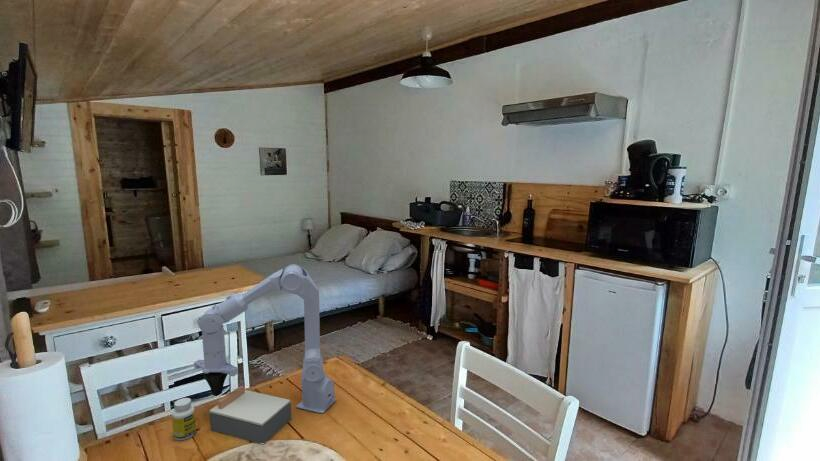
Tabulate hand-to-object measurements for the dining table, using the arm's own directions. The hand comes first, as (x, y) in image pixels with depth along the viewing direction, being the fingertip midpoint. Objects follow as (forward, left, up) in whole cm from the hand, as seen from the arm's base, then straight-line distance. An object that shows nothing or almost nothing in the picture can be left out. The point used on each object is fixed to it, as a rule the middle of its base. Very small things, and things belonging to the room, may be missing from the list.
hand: (217, 394), depth 118 cm
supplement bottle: (+2, +10, -7) cm, 12 cm away
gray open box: (-12, 0, -7) cm, 14 cm away
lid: (-12, 0, -2) cm, 12 cm away
